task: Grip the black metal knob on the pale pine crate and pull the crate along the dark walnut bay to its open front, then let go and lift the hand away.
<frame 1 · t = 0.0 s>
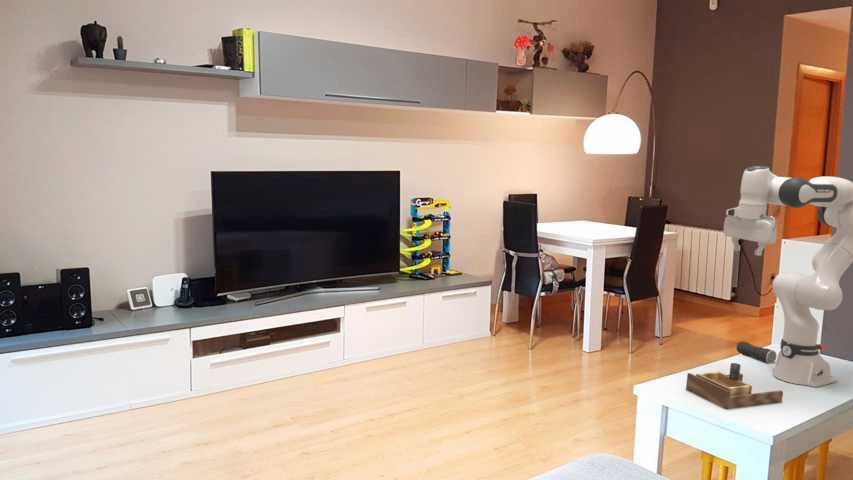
hand: (747, 252, 244), 48 cm above the table, fingers open, 8 cm apart
bay: (732, 399, 237), on the table
flashlight: (755, 358, 286), on the table
crate: (724, 381, 234), point 7 cm above the table, slide at 0.0 cm
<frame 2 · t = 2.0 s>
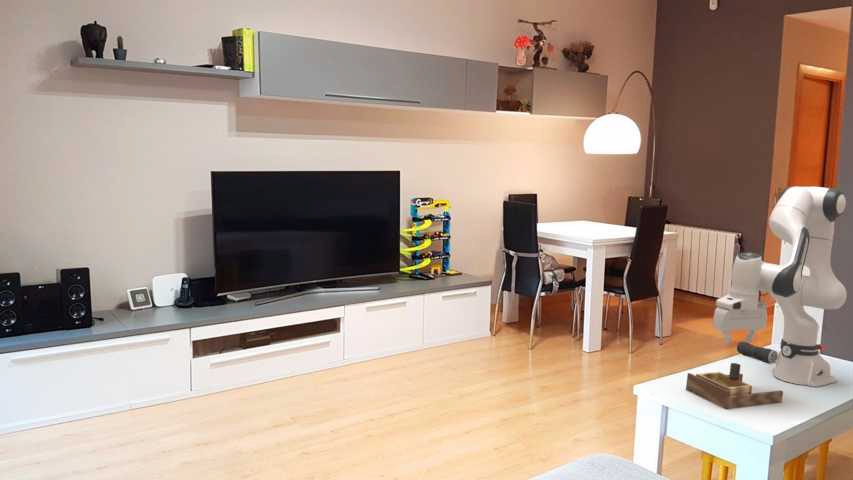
hand: (738, 342, 234), 20 cm above the table, fingers open, 8 cm apart
nothing on the table moved.
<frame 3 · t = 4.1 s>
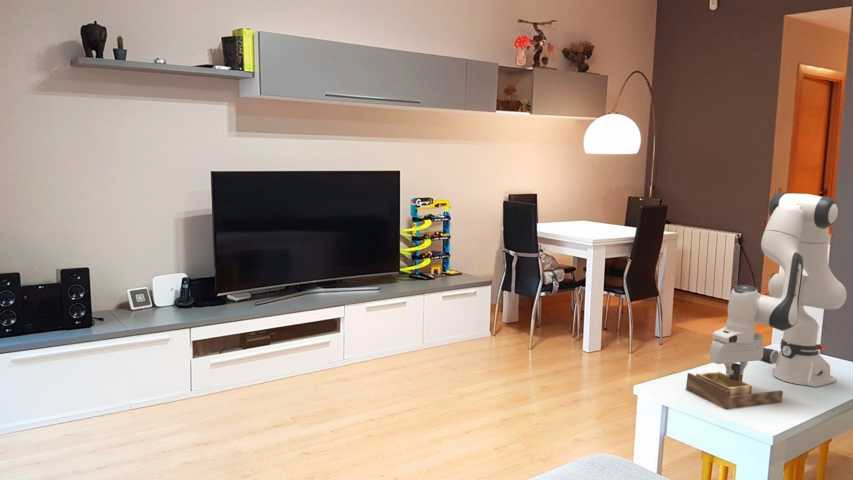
hand: (734, 374, 235), 9 cm above the table, fingers closed on crate, 3 cm apart
crate: (724, 381, 234), point 7 cm above the table, slide at 0.0 cm, touching gripper
everything else where it was.
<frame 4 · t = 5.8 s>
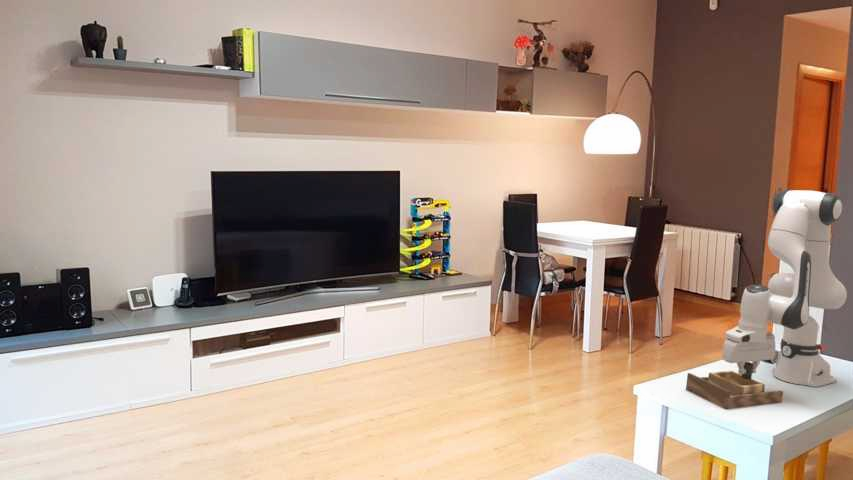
hand: (746, 373, 238), 9 cm above the table, fingers closed on crate, 3 cm apart
crate: (737, 379, 236), point 7 cm above the table, slide at 5.5 cm, touching gripper
everything else where it was.
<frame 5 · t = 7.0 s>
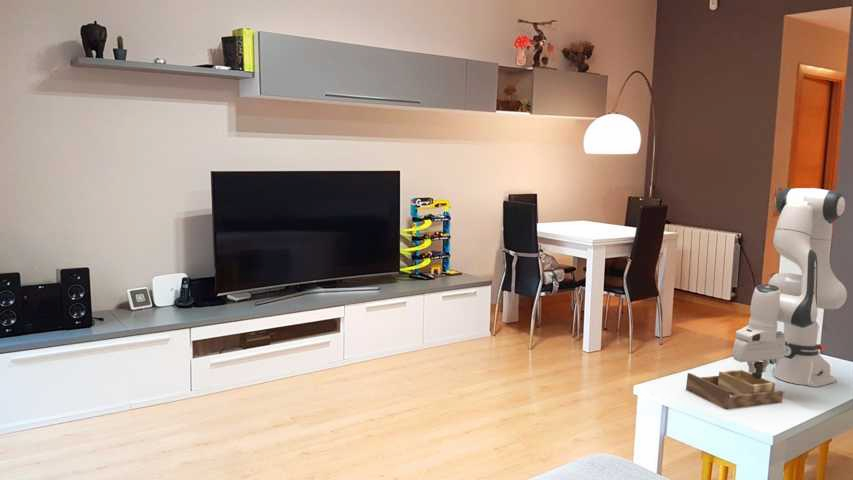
hand: (757, 372, 239), 9 cm above the table, fingers closed on crate, 3 cm apart
crate: (747, 378, 238), point 7 cm above the table, slide at 10.1 cm, touching gripper
everything else where it was.
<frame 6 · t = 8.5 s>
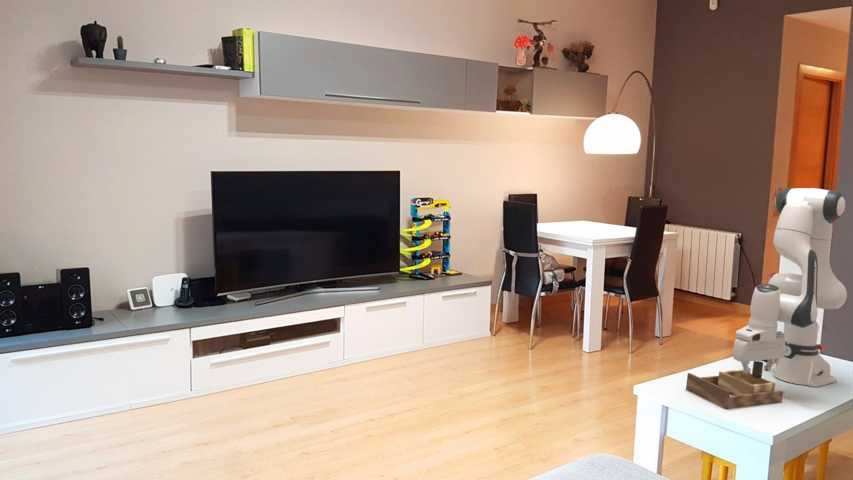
hand: (757, 372, 239), 9 cm above the table, fingers open, 8 cm apart
crate: (747, 378, 238), point 7 cm above the table, slide at 10.1 cm
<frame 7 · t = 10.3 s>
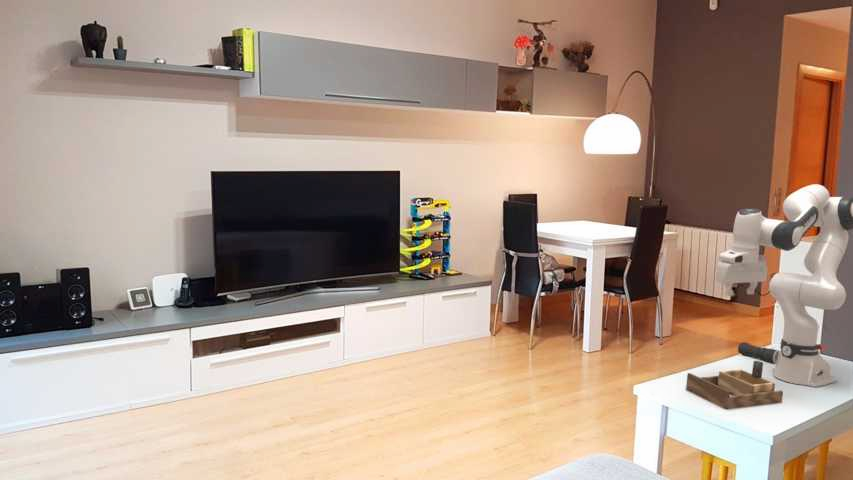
hand: (739, 294, 245), 33 cm above the table, fingers open, 8 cm apart
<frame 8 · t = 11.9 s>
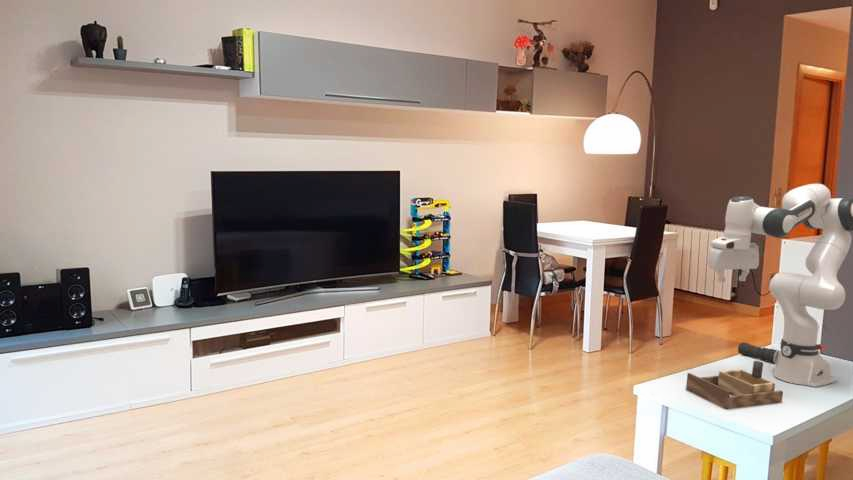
hand: (731, 281, 249), 37 cm above the table, fingers open, 8 cm apart
at the end: crate slide at 10.1 cm; the gripper is holding nothing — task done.
